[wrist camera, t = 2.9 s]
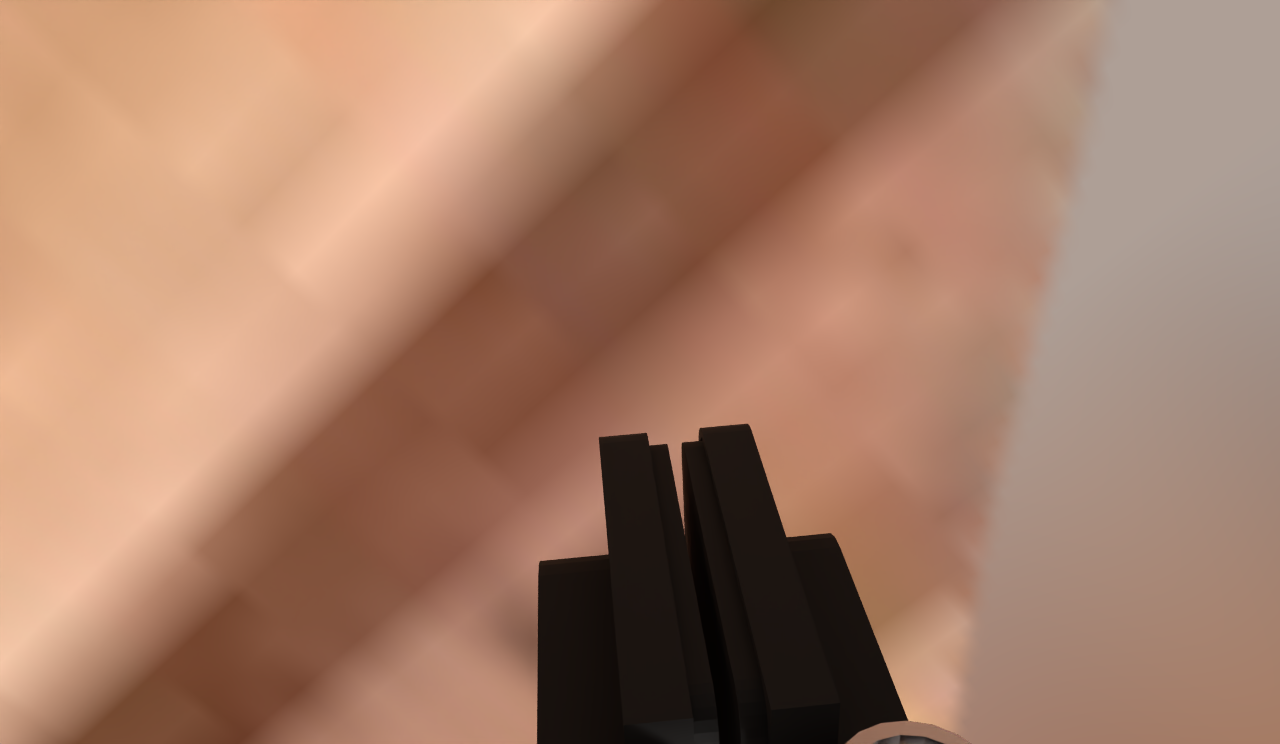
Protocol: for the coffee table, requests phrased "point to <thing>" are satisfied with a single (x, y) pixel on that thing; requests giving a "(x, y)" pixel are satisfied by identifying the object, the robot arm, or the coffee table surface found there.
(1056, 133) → the coffee table surface
